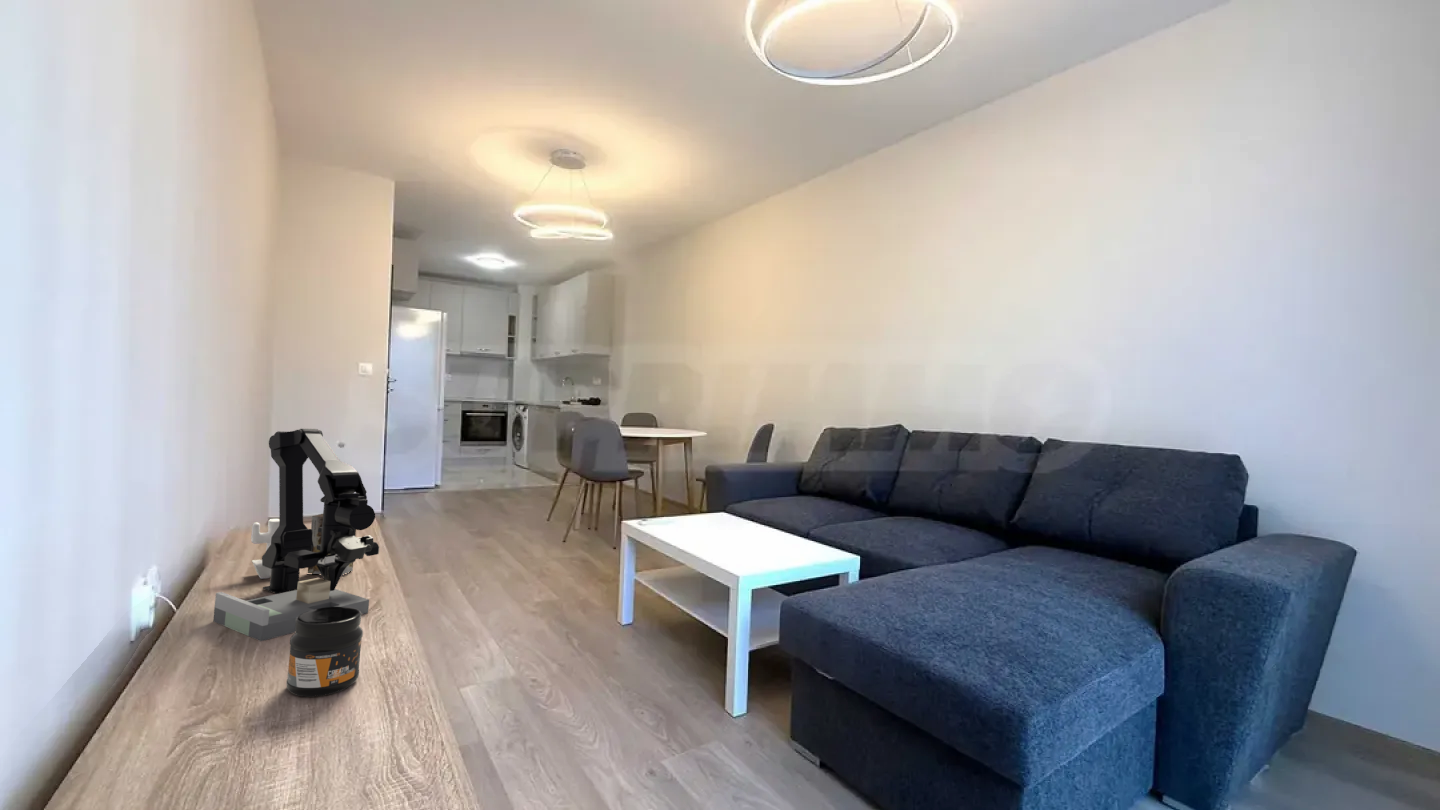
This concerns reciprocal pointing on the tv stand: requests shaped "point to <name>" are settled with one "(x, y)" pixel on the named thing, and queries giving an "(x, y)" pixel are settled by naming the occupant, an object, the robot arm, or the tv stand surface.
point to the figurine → (263, 538)
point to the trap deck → (275, 612)
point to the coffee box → (316, 540)
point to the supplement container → (324, 651)
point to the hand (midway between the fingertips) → (331, 590)
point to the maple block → (313, 590)
